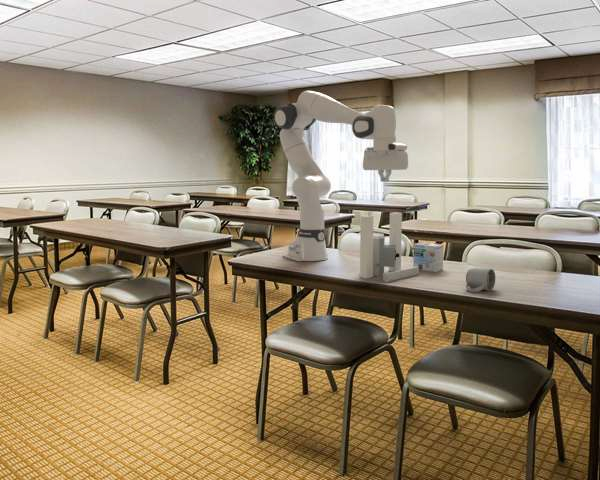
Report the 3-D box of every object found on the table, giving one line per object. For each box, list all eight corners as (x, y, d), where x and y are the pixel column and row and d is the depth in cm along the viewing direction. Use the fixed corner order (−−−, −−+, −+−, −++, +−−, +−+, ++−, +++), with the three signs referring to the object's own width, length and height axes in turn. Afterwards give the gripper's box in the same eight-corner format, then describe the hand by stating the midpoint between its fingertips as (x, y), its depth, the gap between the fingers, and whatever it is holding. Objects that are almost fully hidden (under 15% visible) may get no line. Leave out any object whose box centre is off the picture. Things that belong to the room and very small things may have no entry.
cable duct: (382, 281, 201) (383, 273, 200) (414, 273, 214) (414, 266, 214) (387, 281, 199) (387, 274, 199) (418, 274, 213) (418, 266, 212)
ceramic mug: (473, 285, 193) (474, 264, 192) (495, 288, 187) (496, 267, 186) (460, 291, 185) (460, 269, 184) (482, 294, 180) (483, 272, 179)
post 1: (360, 277, 208) (360, 216, 205) (365, 275, 211) (366, 215, 207) (366, 278, 206) (367, 216, 202) (372, 277, 208) (373, 216, 205)
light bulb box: (412, 268, 224) (413, 243, 222) (420, 266, 228) (421, 241, 227) (435, 272, 216) (436, 246, 215) (443, 269, 221) (444, 244, 220)
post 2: (388, 270, 220) (389, 212, 217) (394, 269, 223) (395, 212, 219) (395, 271, 218) (396, 213, 214) (400, 270, 220) (402, 212, 217)
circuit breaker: (398, 276, 209) (399, 238, 207) (362, 275, 212) (362, 237, 210) (399, 272, 216) (399, 236, 214) (364, 271, 219) (364, 235, 217)
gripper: (359, 147, 216) (359, 181, 218) (400, 145, 201) (400, 182, 203) (369, 147, 220) (369, 181, 222) (410, 145, 205) (410, 181, 207)
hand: (384, 181), depth 212 cm, fingers closed
